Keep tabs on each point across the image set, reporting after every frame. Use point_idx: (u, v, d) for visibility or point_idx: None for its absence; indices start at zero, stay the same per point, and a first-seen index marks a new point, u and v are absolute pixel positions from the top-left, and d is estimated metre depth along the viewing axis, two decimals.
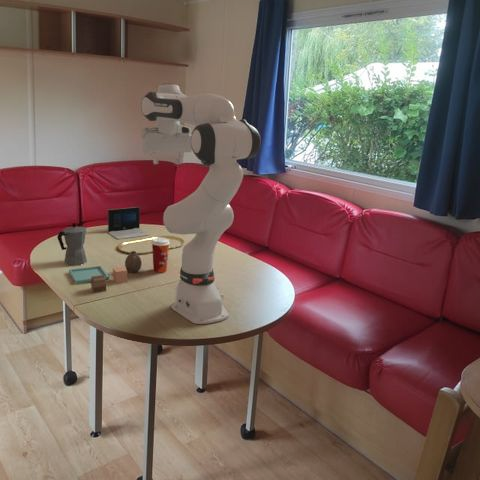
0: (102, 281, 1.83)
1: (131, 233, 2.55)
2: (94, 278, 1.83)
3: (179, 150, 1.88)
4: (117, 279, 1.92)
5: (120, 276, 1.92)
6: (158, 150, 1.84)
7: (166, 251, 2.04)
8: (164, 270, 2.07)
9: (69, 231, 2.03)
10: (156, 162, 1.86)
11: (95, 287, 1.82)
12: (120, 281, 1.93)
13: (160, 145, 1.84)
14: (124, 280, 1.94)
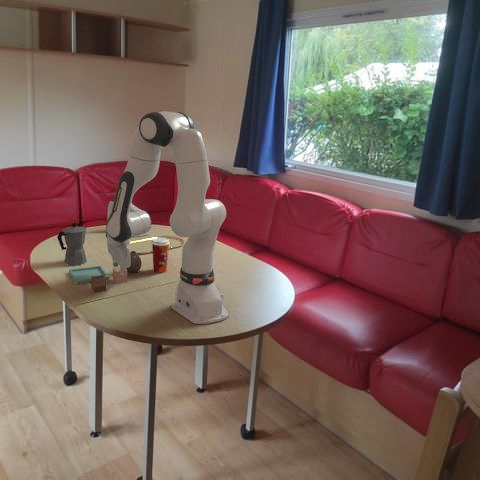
0: (102, 281, 1.83)
1: None
2: (94, 278, 1.83)
3: None
4: (117, 279, 1.92)
5: (120, 276, 1.92)
6: None
7: (166, 251, 2.04)
8: (164, 270, 2.07)
9: (69, 231, 2.03)
10: None
11: (95, 287, 1.82)
12: (120, 281, 1.93)
13: None
14: (124, 280, 1.94)
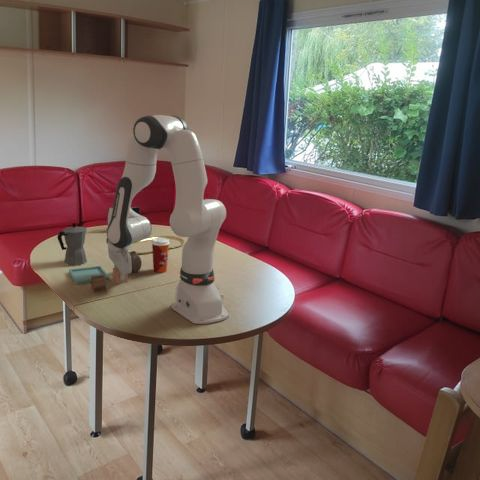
0: (102, 281, 1.83)
1: None
2: (94, 278, 1.83)
3: None
4: (117, 279, 1.92)
5: None
6: None
7: (166, 251, 2.04)
8: (164, 270, 2.07)
9: (69, 231, 2.03)
10: None
11: (95, 287, 1.82)
12: (120, 281, 1.93)
13: None
14: (124, 280, 1.94)
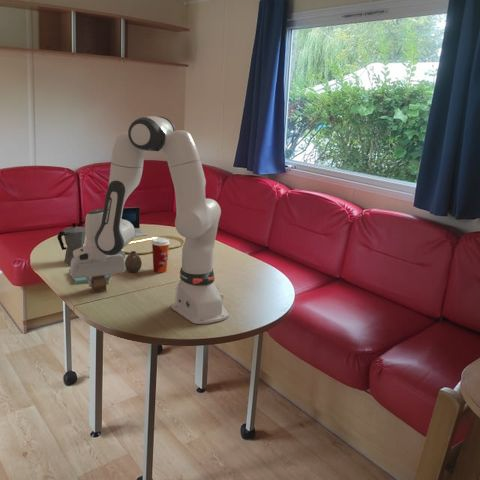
0: (102, 281, 1.83)
1: None
2: (94, 278, 1.83)
3: None
4: None
5: None
6: None
7: (166, 251, 2.04)
8: (164, 270, 2.07)
9: (69, 231, 2.03)
10: None
11: (95, 287, 1.82)
12: None
13: None
14: None
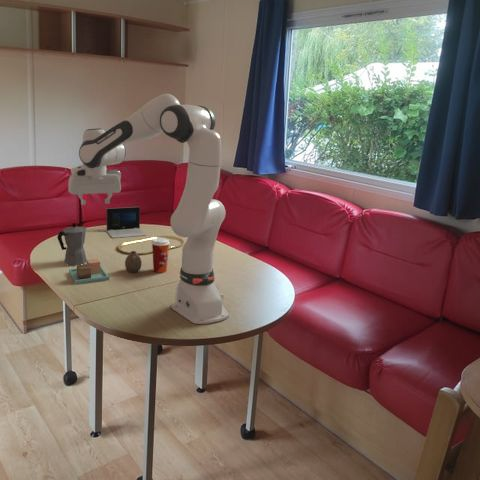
0: (87, 270, 1.91)
1: (128, 233, 2.56)
2: (79, 267, 1.91)
3: None
4: None
5: None
6: None
7: (166, 251, 2.04)
8: (164, 270, 2.07)
9: (69, 231, 2.03)
10: None
11: (80, 275, 1.90)
12: None
13: None
14: None
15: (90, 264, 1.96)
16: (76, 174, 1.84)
